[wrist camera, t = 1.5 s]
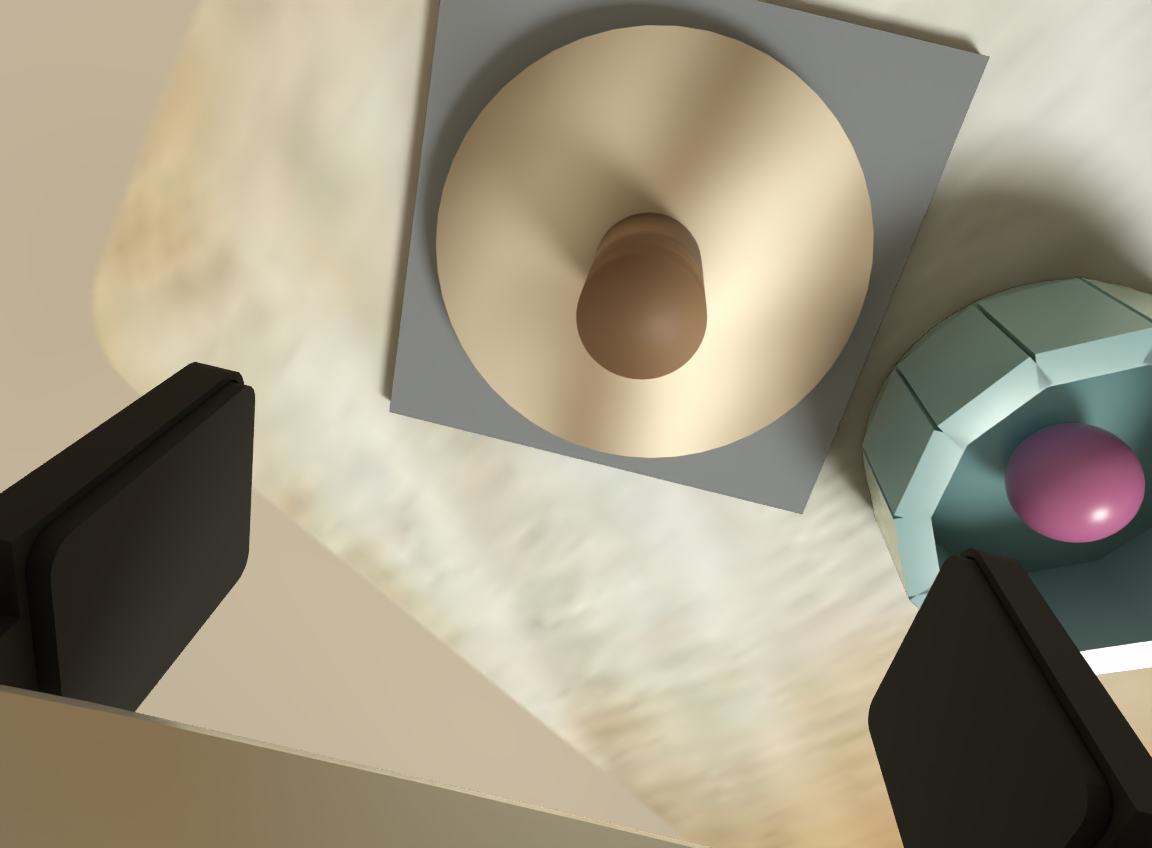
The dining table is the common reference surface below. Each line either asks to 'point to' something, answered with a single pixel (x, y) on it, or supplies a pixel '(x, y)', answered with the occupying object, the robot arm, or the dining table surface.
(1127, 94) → the dining table surface
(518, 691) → the dining table surface
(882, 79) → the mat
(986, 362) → the bowl
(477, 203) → the lid
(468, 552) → the dining table surface
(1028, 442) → the plum
